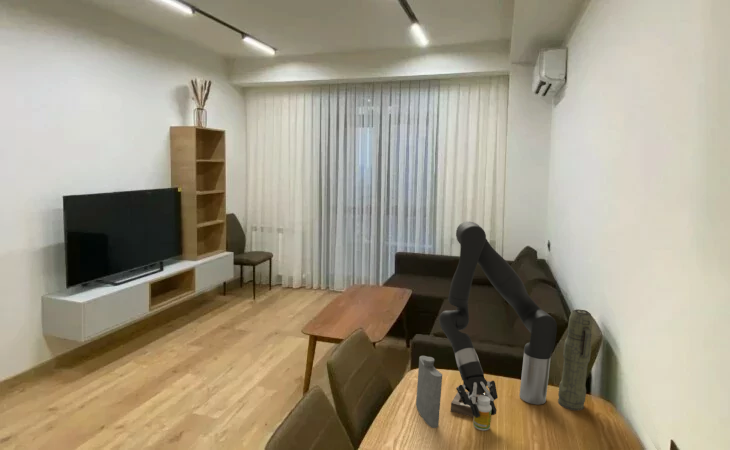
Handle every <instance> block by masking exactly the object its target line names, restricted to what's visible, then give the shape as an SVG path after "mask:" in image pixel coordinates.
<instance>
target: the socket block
mask: <svg viewBox="0 0 730 450" xmlns="http://www.w3.org/2000/svg"><path fill="white" fill-rule="evenodd" d="M465 392H466V394H467V395H468V393H469V392H468V391H467V390H465ZM478 396H481V395H476V402H477V399H478ZM450 412H452V413H457V414H459V415H460V414H461V415H463V416H467V417H470V418H474V415H473V413H472V410H471V407H470V406H469V405H464V403H463V401H462V399H461V397H460V395H459V393H458V391H457V392H456V394H455V395H454V397H453V399H452V400H451V403H450Z"/></svg>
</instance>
